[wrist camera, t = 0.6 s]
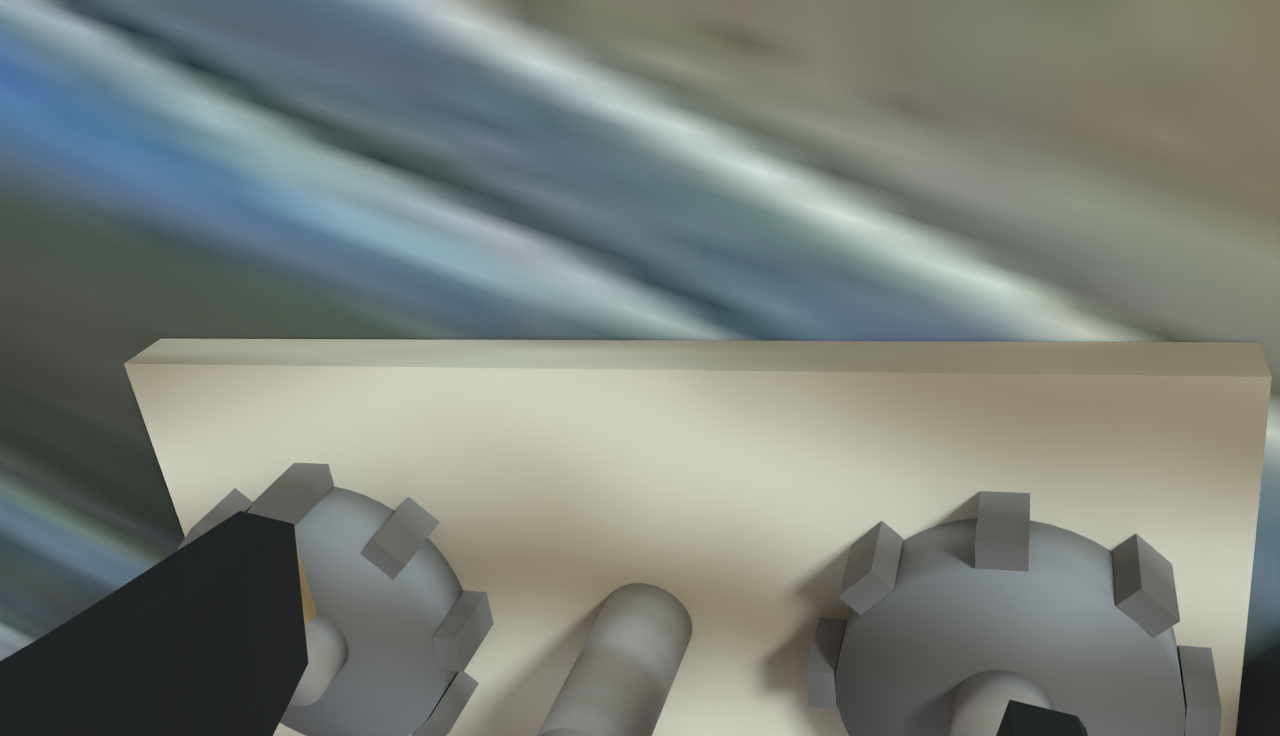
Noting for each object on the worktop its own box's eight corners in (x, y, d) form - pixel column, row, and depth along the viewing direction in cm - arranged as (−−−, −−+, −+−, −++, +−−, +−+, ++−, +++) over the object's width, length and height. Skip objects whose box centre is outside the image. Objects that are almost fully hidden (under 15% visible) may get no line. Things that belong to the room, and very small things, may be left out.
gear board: (1211, 850, 24) (1256, 1164, 18) (293, 735, 30) (137, 940, 25) (1259, 342, 19) (1338, 571, 14) (160, 338, 26) (-65, 491, 20)
